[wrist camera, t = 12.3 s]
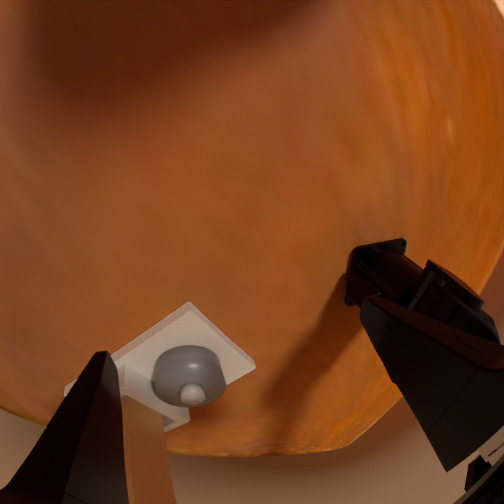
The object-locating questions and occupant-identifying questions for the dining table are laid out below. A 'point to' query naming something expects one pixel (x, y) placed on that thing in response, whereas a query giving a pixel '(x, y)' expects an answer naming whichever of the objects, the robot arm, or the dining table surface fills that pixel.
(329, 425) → the dining table surface
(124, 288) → the dining table surface
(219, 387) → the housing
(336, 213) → the dining table surface
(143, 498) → the block
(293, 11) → the dining table surface
